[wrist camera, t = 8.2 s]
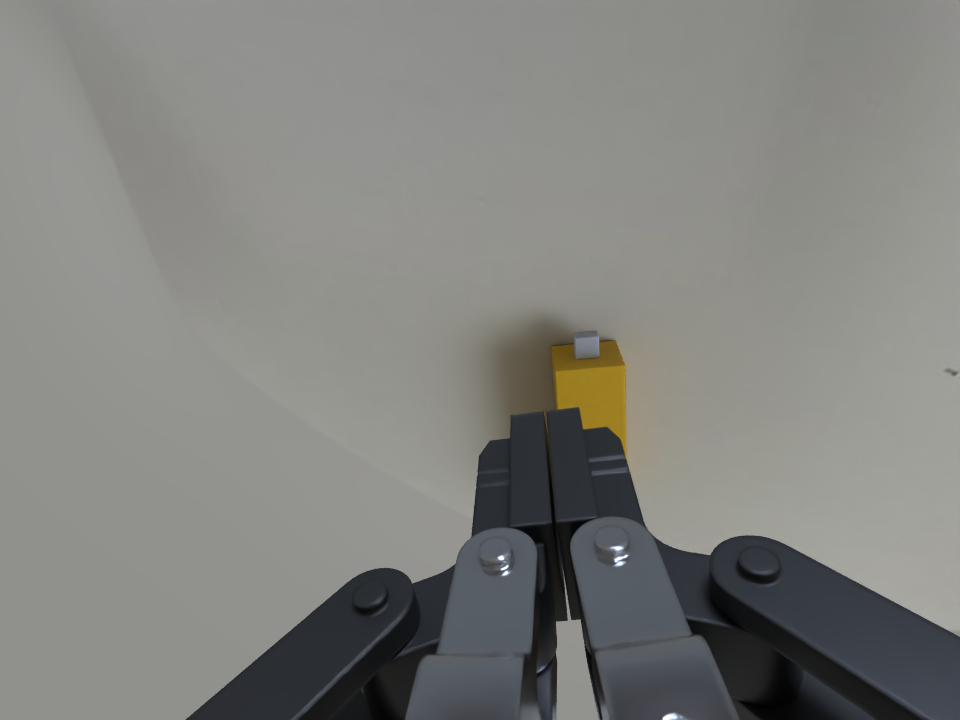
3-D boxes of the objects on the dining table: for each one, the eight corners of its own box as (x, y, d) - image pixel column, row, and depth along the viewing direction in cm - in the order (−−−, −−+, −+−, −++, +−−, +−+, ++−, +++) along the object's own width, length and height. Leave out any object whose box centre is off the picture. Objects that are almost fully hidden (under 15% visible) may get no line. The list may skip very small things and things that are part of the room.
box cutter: (618, 484, 29) (627, 517, 27) (561, 488, 29) (565, 521, 27) (615, 318, 25) (625, 342, 23) (549, 324, 25) (553, 348, 23)
